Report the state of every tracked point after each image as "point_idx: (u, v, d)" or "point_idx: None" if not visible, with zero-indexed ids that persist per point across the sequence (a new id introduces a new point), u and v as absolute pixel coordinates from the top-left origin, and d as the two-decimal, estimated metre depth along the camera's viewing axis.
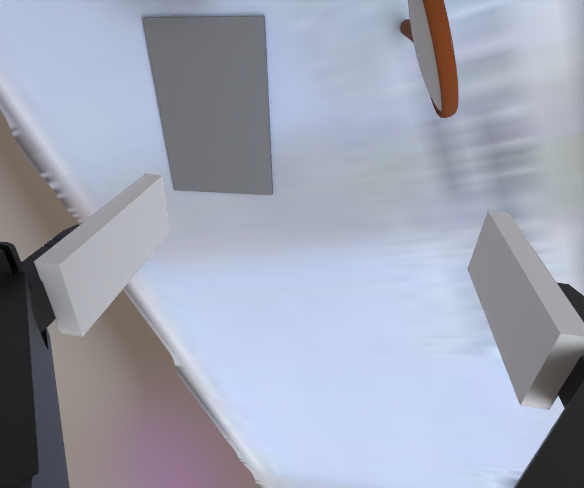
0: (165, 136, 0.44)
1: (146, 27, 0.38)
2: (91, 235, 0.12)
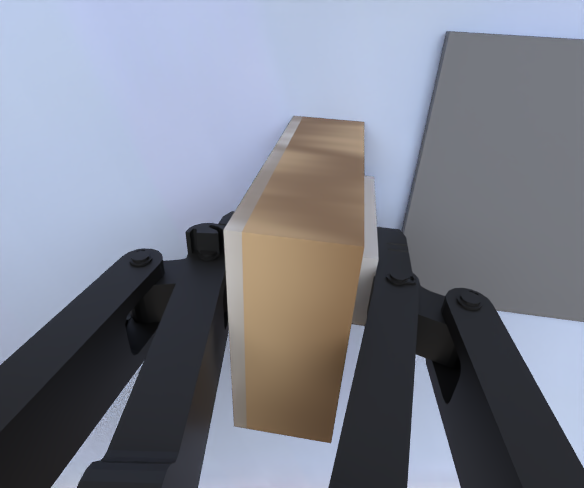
0: None
1: None
2: None
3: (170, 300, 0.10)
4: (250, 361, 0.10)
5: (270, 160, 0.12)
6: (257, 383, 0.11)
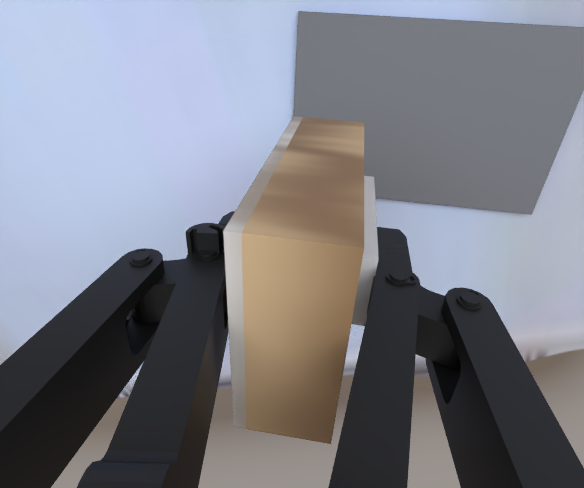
0: (441, 203, 0.30)
1: None
2: None
3: (170, 300, 0.10)
4: (250, 362, 0.10)
5: (270, 161, 0.12)
6: (257, 383, 0.11)
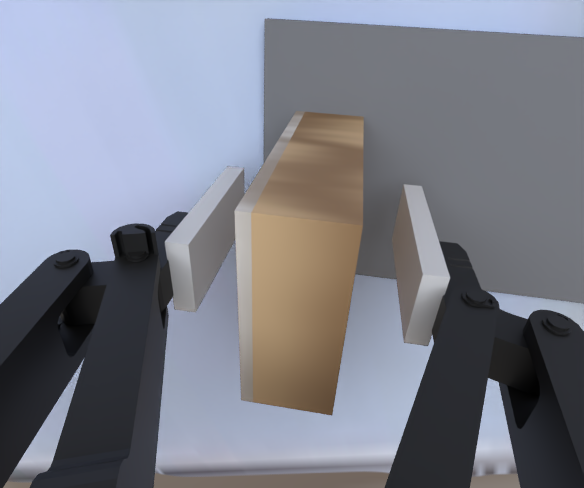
0: None
1: None
2: (204, 219, 0.13)
3: (102, 305, 0.10)
4: (257, 336, 0.11)
5: (275, 151, 0.13)
6: (263, 357, 0.12)
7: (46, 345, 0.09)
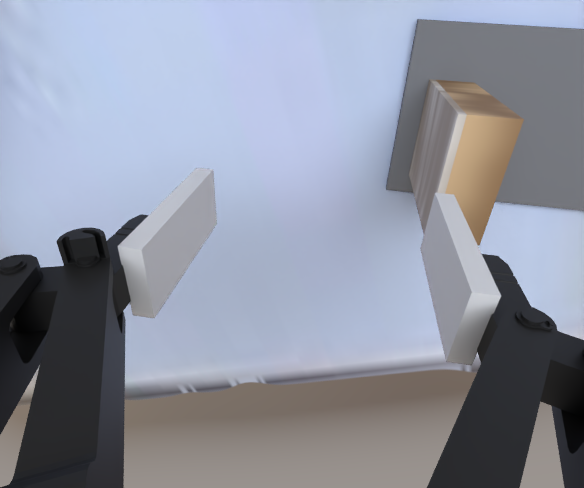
0: (536, 203, 0.31)
1: (397, 187, 0.32)
2: (163, 223, 0.13)
3: (53, 313, 0.09)
4: (448, 191, 0.21)
5: (445, 95, 0.23)
6: None
7: None
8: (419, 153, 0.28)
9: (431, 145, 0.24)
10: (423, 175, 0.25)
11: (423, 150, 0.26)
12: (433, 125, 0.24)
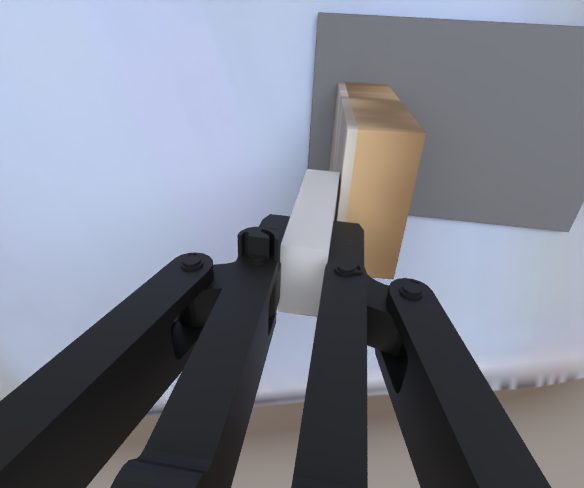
0: (470, 219, 0.27)
1: None
2: (309, 222, 0.13)
3: (217, 302, 0.10)
4: (349, 220, 0.17)
5: (345, 103, 0.19)
6: None
7: (157, 347, 0.10)
8: (331, 167, 0.24)
9: (336, 161, 0.20)
10: None
11: (333, 165, 0.23)
12: (337, 137, 0.20)
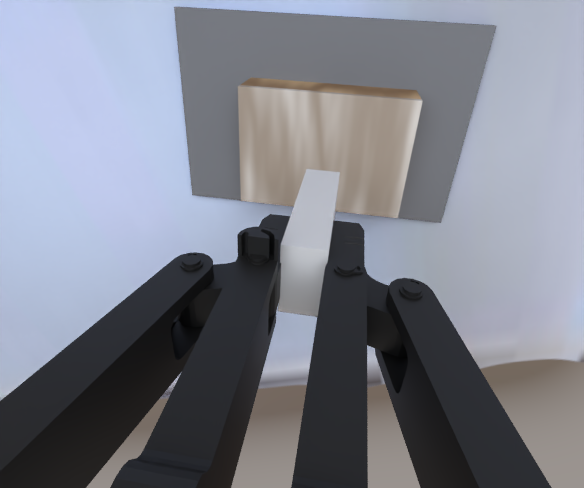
0: None
1: (202, 192, 0.29)
2: (309, 222, 0.13)
3: (217, 302, 0.10)
4: None
5: (338, 93, 0.21)
6: None
7: (157, 347, 0.10)
8: (280, 167, 0.24)
9: (336, 146, 0.23)
10: None
11: (299, 159, 0.23)
12: (323, 128, 0.22)
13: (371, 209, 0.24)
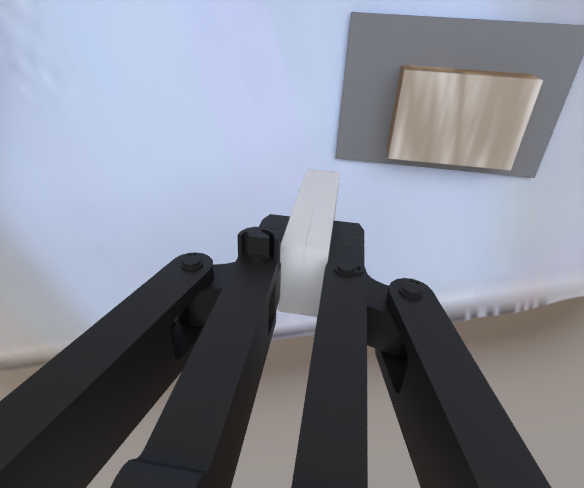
0: (460, 168, 0.36)
1: (344, 156, 0.37)
2: (309, 222, 0.13)
3: (217, 302, 0.10)
4: None
5: (480, 75, 0.29)
6: None
7: (157, 347, 0.10)
8: (425, 131, 0.32)
9: (472, 115, 0.31)
10: (461, 140, 0.32)
11: (441, 125, 0.32)
12: (464, 101, 0.30)
13: (491, 163, 0.33)
